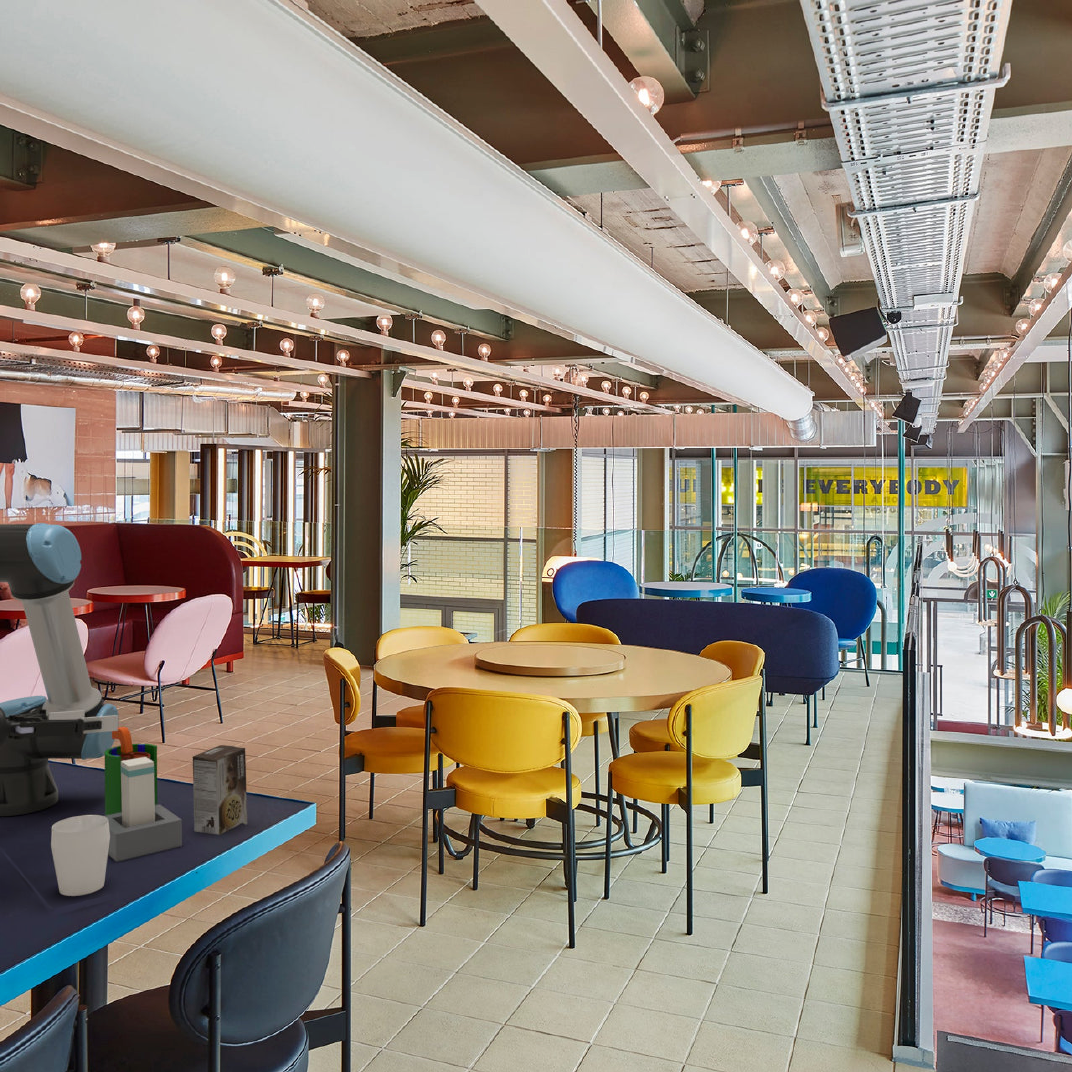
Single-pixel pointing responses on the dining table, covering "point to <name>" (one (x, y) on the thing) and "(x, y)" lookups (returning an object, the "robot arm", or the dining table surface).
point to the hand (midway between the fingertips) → (100, 720)
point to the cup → (80, 853)
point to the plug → (137, 792)
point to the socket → (144, 835)
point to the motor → (114, 767)
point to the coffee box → (219, 789)
